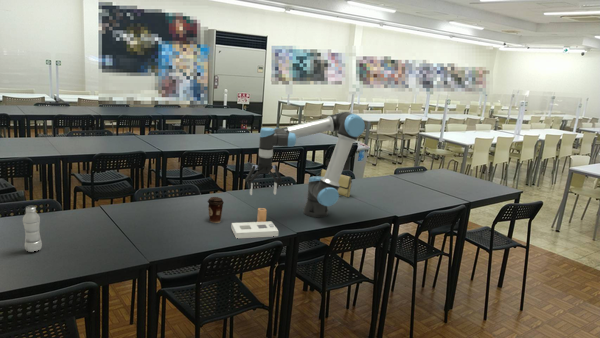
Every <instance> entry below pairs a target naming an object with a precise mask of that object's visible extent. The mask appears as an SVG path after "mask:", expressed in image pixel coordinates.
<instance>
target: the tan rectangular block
mask: <svg viewBox="0 0 600 338" xmlns="http://www.w3.org/2000/svg"><path fill="white" fill-rule="evenodd" d="M256 222H267V209H266V207H265V208H264V207H258V208H257V217H256Z"/></svg>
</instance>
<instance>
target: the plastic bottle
mask: <svg viewBox="0 0 600 338" xmlns="http://www.w3.org/2000/svg"><path fill="white" fill-rule="evenodd" d="M36 211H37V207H36V206H35V205H28V206H25V214H24V215H23V217H22V224H23V228H24V234H25V237H24V250H25V251H26V252H27V251H28V253H35V252H34V251H36V252H38V250H39V251H40V250H41V249H42V247H43V246H42V245H43V243H42V242H43V241H42V238H41V234H40V224H41V217H40V214H38V213H37V212H36Z"/></svg>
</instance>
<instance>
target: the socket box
mask: <svg viewBox="0 0 600 338" xmlns="http://www.w3.org/2000/svg"><path fill="white" fill-rule="evenodd" d="M230 228H231V230H232V232H233V235H234V236H235V239H237V238H238V239H251V238H252V239H254V238H256V239H257V238H270V237H272V238H273V236H274V237H279V230H278V228H277V226H275V224H274V223H273V221H266V222H257V221H249V222H231V227H230Z"/></svg>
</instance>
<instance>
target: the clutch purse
mask: <svg viewBox="0 0 600 338" xmlns="http://www.w3.org/2000/svg"><path fill="white" fill-rule="evenodd" d="M326 171H327V169H323V168H322V169H321V168H320V172H319V173H318V175H317V176H321V177H324V176H325V173H326ZM352 180H353V177H351V176H348V175H344V174H341V176H340V179H339V181H338V183H339V185H340V186H339V189H338V194H339V198H342V197H346V198H349V197H350V195H351V189H352V186H353V184H352V183H353V181H352Z"/></svg>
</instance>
